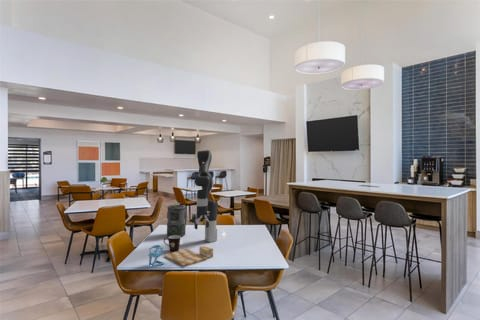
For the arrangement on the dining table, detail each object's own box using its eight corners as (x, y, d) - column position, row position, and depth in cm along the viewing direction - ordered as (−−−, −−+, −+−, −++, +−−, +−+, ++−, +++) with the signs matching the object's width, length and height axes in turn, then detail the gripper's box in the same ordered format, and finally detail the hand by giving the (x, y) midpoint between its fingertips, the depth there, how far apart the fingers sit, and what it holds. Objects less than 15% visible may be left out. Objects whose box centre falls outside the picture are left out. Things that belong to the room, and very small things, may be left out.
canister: (181, 238, 227) (181, 205, 227) (163, 237, 230) (164, 204, 230) (187, 233, 243) (188, 202, 243) (171, 232, 245) (171, 201, 245)
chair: (146, 265, 169) (146, 246, 169) (156, 261, 176) (157, 243, 176) (154, 268, 165) (154, 249, 165) (164, 264, 172) (165, 245, 172)
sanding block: (205, 253, 192) (205, 245, 192) (213, 257, 186) (213, 248, 185) (199, 255, 188) (199, 246, 188) (207, 259, 182) (207, 250, 182)
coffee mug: (182, 250, 199) (182, 236, 199) (174, 253, 191) (174, 239, 191) (171, 247, 205) (171, 234, 205) (162, 250, 197) (162, 236, 197)
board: (186, 250, 197) (186, 248, 197) (206, 259, 180) (206, 257, 180) (164, 256, 184) (164, 254, 184) (183, 267, 167) (183, 264, 167)
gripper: (208, 203, 195) (207, 225, 195) (190, 205, 186) (189, 228, 186) (213, 204, 189) (213, 227, 189) (195, 206, 180) (195, 230, 180)
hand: (201, 228), depth 187 cm, fingers open, 8 cm apart
